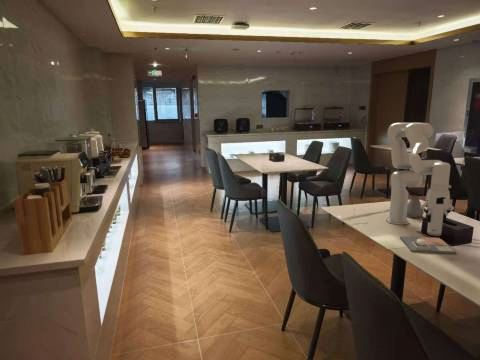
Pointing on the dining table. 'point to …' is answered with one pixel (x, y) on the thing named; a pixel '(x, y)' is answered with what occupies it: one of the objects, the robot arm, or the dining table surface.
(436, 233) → the travel mug
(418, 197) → the coffee pot
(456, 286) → the dining table surface
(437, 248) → the picture board
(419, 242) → the button
